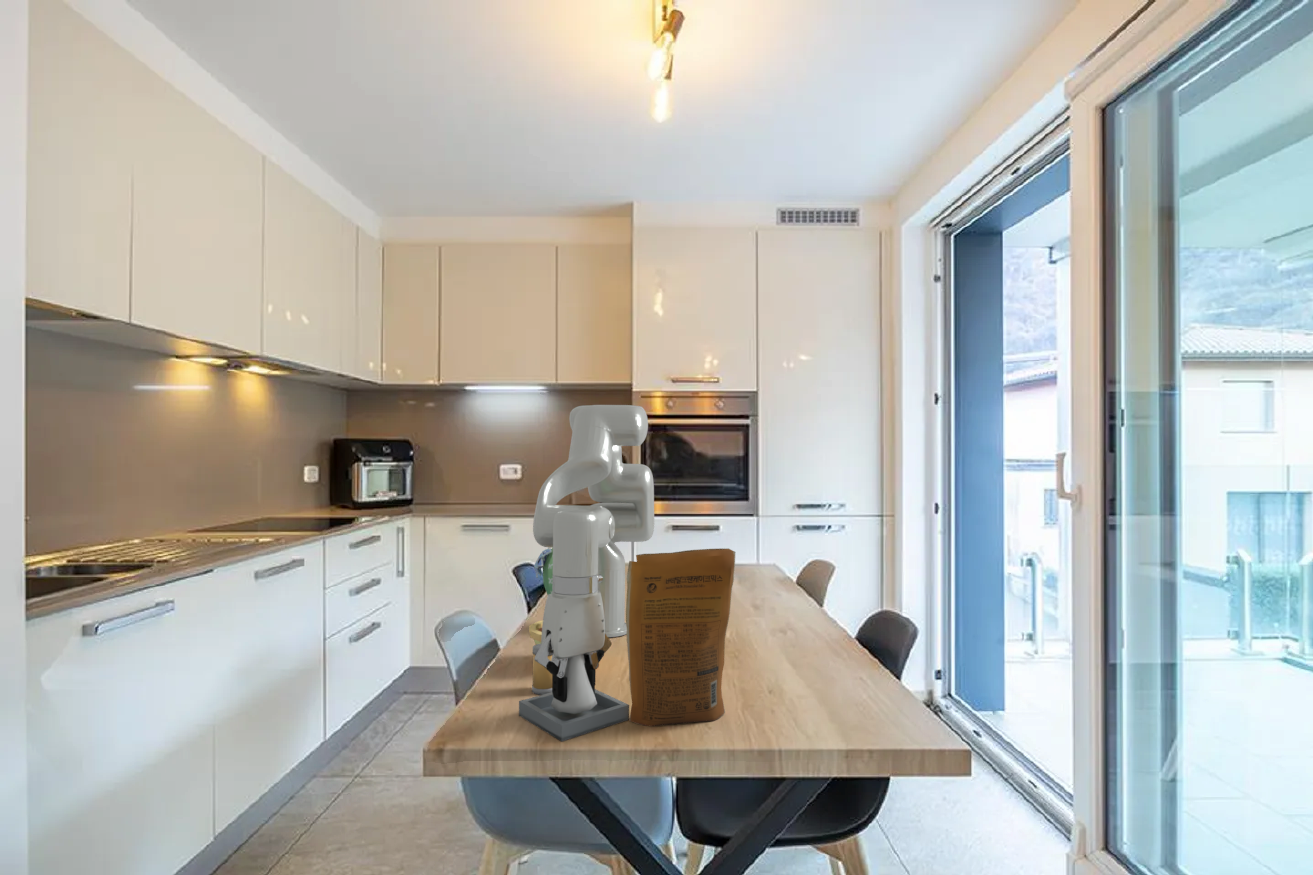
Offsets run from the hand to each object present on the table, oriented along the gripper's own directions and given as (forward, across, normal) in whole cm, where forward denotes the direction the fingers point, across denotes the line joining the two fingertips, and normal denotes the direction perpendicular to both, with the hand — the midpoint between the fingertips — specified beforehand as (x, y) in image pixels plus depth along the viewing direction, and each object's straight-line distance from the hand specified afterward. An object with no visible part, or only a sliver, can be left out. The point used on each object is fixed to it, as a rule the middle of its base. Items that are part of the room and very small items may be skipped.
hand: (574, 694), depth 108 cm
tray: (+4, 0, 0) cm, 4 cm away
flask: (+2, 0, 0) cm, 2 cm away
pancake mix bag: (+4, -13, +12) cm, 18 cm away
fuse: (+4, -3, -14) cm, 15 cm away
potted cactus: (+4, -14, -24) cm, 28 cm away
